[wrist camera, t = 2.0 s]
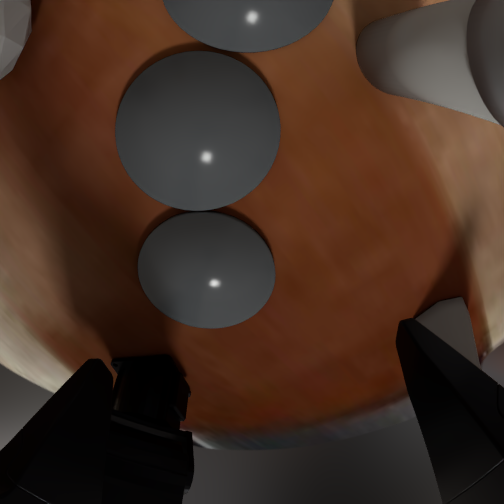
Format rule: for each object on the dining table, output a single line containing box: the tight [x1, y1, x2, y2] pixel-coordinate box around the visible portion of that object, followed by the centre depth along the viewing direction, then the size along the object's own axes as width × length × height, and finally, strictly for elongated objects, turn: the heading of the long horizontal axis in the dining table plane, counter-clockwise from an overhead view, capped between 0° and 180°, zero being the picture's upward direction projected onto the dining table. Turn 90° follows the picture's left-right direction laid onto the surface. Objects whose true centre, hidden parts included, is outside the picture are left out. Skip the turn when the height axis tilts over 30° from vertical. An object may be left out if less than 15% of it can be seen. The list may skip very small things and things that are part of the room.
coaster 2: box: [138, 211, 275, 328], centre depth 23 cm, size 10×10×1 cm
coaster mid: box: [115, 51, 280, 211], centre depth 18 cm, size 10×10×1 cm
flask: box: [416, 297, 482, 370], centre depth 23 cm, size 7×7×10 cm
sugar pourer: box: [356, 0, 504, 127], centre depth 10 cm, size 5×5×13 cm
